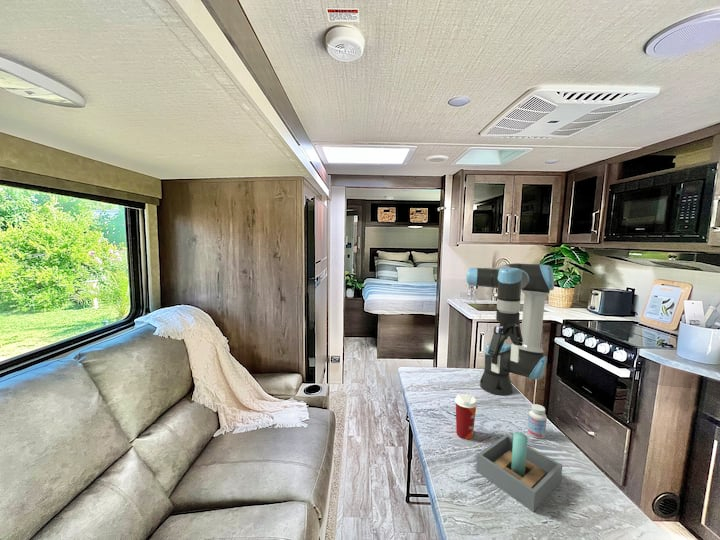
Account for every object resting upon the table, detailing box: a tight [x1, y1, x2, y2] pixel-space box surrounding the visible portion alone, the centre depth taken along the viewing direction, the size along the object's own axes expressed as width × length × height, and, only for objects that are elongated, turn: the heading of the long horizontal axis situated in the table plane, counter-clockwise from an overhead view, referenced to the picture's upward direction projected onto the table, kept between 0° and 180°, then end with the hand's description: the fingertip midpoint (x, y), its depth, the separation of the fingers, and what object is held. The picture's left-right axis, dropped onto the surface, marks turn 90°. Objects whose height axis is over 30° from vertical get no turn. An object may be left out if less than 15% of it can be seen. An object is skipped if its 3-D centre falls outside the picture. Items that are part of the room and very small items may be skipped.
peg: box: [511, 431, 528, 478], centre depth 96 cm, size 4×4×14 cm
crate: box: [476, 433, 563, 513], centre depth 96 cm, size 18×18×6 cm
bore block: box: [493, 450, 547, 489], centre depth 96 cm, size 12×12×3 cm
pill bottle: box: [527, 403, 548, 440], centre depth 117 cm, size 6×6×11 cm
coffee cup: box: [454, 393, 478, 441], centre depth 116 cm, size 8×8×15 cm
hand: (505, 366), depth 110 cm, fingers open, 13 cm apart
